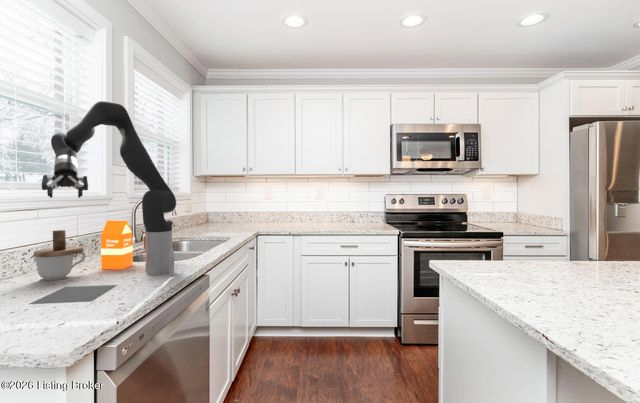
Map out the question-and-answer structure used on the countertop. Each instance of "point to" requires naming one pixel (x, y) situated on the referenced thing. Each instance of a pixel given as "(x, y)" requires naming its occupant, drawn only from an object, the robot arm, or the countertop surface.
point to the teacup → (56, 266)
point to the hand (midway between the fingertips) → (65, 196)
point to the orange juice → (116, 245)
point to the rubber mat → (75, 294)
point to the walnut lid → (58, 247)
